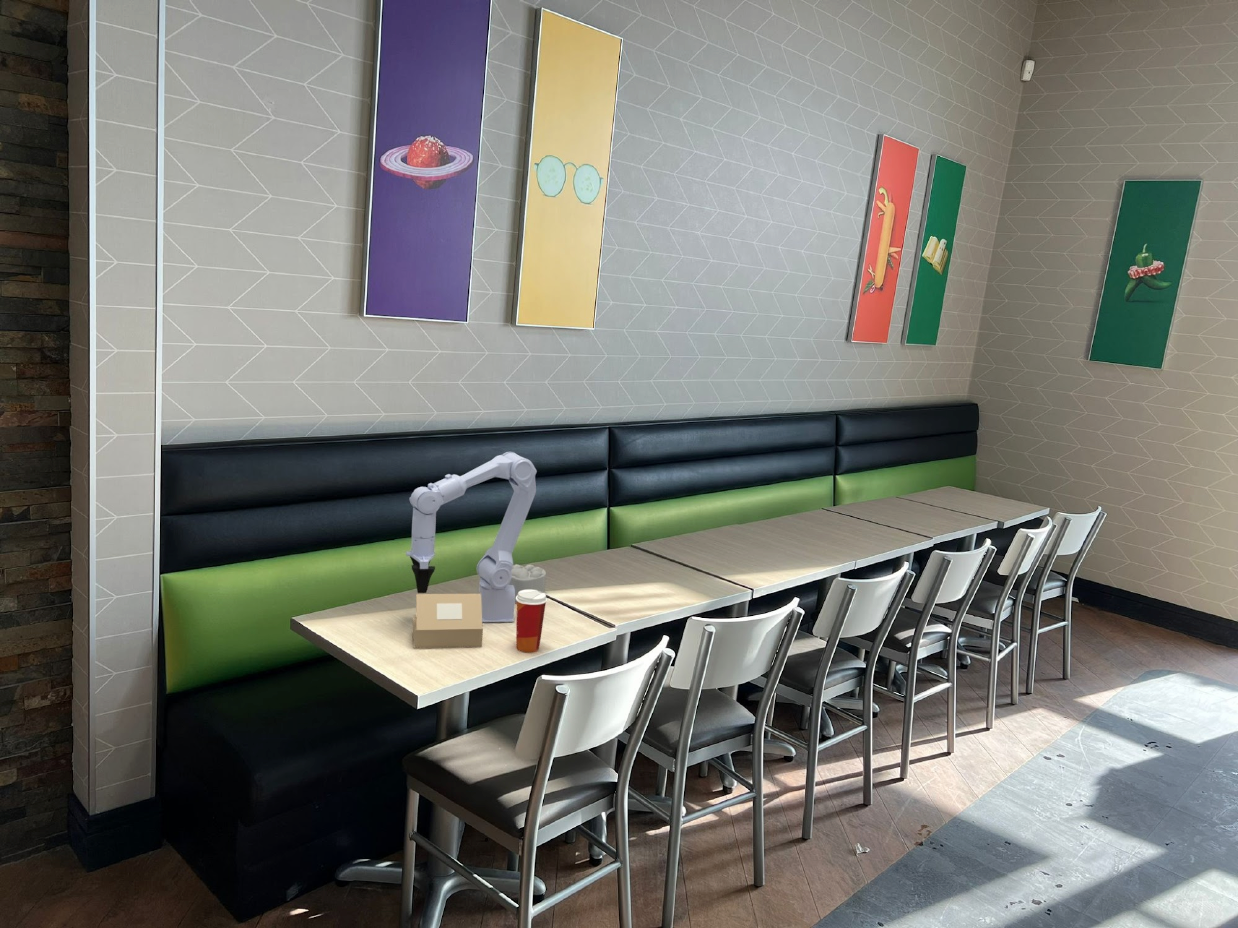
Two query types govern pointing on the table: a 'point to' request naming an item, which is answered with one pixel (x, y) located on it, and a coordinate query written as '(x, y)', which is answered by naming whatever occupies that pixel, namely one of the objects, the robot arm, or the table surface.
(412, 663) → the table surface
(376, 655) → the table surface
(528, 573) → the clear tub of eggs
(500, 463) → the robot arm
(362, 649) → the table surface
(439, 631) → the kraft box
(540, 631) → the paper cup
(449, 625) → the lid flap
